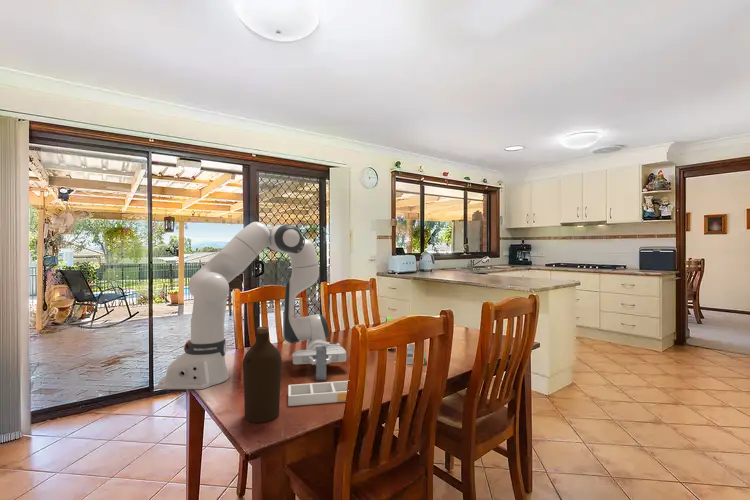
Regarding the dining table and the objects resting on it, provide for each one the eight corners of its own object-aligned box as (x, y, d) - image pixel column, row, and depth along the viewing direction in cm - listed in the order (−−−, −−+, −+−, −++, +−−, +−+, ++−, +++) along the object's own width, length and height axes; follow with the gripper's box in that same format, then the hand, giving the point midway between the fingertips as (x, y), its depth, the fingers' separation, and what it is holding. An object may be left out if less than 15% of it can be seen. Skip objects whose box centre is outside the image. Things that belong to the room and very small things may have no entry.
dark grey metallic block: (316, 380, 136) (316, 350, 135) (315, 376, 140) (315, 346, 140) (326, 380, 136) (326, 349, 136) (325, 375, 141) (325, 346, 141)
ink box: (424, 361, 160) (424, 333, 160) (425, 364, 155) (425, 336, 155) (404, 360, 160) (404, 333, 160) (405, 364, 156) (405, 335, 156)
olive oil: (275, 424, 102) (275, 332, 101) (236, 423, 102) (236, 331, 102) (285, 408, 112) (286, 324, 112) (250, 407, 113) (251, 323, 112)
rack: (288, 406, 113) (288, 396, 113) (288, 394, 123) (288, 384, 123) (357, 400, 118) (357, 391, 118) (352, 389, 128) (352, 380, 128)
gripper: (291, 345, 149) (292, 355, 135) (343, 343, 153) (348, 352, 140) (291, 361, 149) (291, 372, 135) (343, 358, 153) (348, 369, 140)
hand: (321, 362), depth 137 cm, fingers closed on dark grey metallic block, 3 cm apart
